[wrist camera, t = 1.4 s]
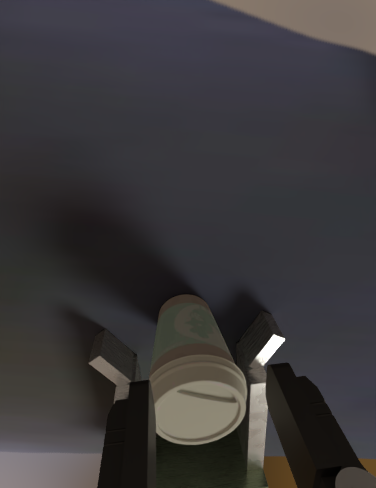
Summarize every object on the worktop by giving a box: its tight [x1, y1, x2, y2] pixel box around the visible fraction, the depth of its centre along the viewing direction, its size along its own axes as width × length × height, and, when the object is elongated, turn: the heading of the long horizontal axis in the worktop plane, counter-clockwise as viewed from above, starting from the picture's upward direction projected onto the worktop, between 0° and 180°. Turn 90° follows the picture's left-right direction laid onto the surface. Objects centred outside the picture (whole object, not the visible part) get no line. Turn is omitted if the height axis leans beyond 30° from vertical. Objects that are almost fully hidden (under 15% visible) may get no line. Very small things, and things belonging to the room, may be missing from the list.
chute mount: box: [89, 311, 285, 488], centre depth 35 cm, size 20×21×8 cm
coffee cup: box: [148, 294, 247, 445], centre depth 28 cm, size 8×8×12 cm
